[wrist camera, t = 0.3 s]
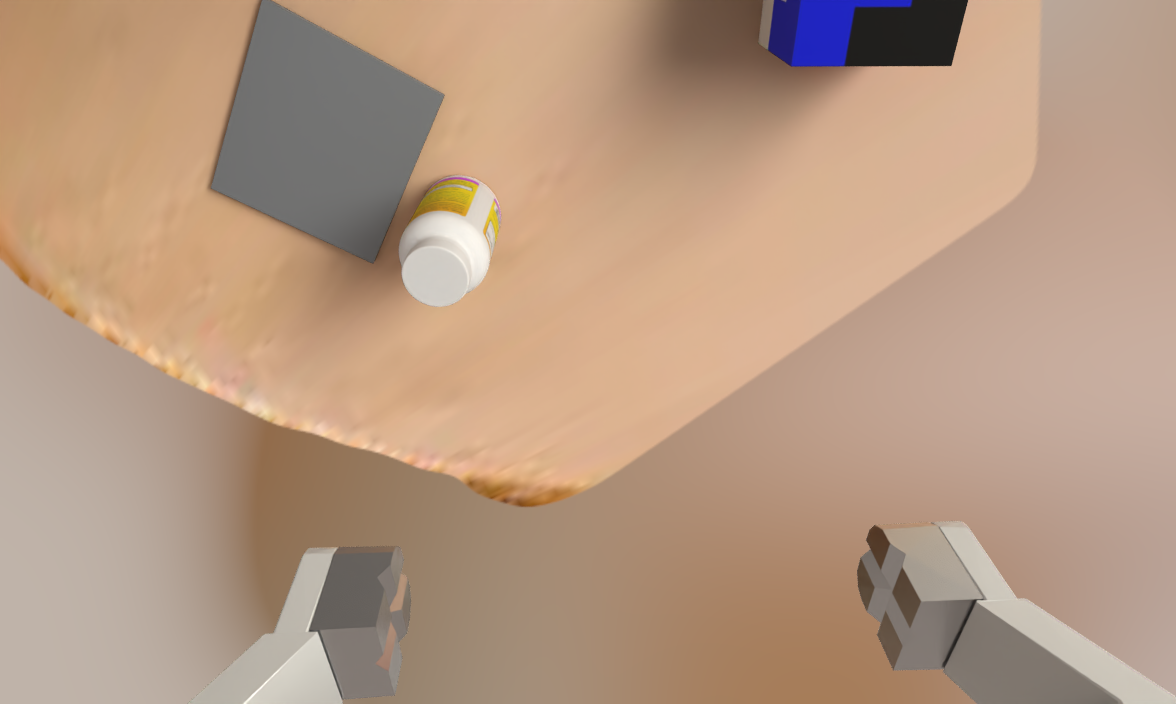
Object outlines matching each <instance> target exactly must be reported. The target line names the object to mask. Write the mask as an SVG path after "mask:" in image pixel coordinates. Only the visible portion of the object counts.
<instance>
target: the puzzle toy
mask: <svg viewBox="0 0 1176 704" xmlns="http://www.w3.org/2000/svg"><path fill="white" fill-rule="evenodd" d="M967 2H968V0H763V7H762V16H761V25H760V33H759V42H758V44H760V45H761V46H763V47H764V48H766V49H767V50H768V51H770V52H771V53H773V54H774V55H776V56H777V57H778V58H780V59H781V60H783V61H784V62H786V63H787V64H788V65H790V66H951V65H952V61H953V57H954V53H955V50H956V46H957V42H958V38H959V34H960V30H961V26H962V22H963V18H964V14H965V10H966V6H967Z"/></svg>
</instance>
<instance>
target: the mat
mask: <svg viewBox="0 0 1176 704" xmlns="http://www.w3.org/2000/svg"><path fill="white" fill-rule="evenodd" d="M444 96H445V95H444V94H442V93H440V92H438V91H437V90H435V89H433V88H431V87H429V86H427V85H426V84H424V83H422V82H420V81H418V80H416V79H415V78H413V77H411V76H409V75H407V74H405V73H404V72H402V71H400V70H398V69H396V68H394V67H393V66H391V65H389V64H387V63H385V62H383V61H382V60H380V59H378V58H376V57H374V56H372V55H371V54H369V53H367V52H365V51H363V50H361V49H360V48H358V47H356V46H354V45H352V44H350V43H349V42H347V41H345V40H343V39H341V38H339V37H337V36H336V35H334V34H332V33H330V32H328V31H326V30H325V29H323V28H321V27H319V26H317V25H315V24H314V23H312V22H310V21H308V20H306V19H304V18H303V17H301V16H299V15H297V14H295V13H293V12H292V11H290V10H288V9H286V8H284V7H282V6H281V5H279V4H277V3H275V2H273V1H271V0H262V2H261V6H260V9H259V13H258V17H257V20H256V24H255V28H254V31H253V35H252V39H251V42H250V46H249V50H248V53H247V57H246V61H245V65H244V68H243V72H242V76H241V79H240V83H239V87H238V90H237V94H236V98H235V101H234V105H233V109H232V112H231V116H230V120H229V123H228V127H227V131H226V134H225V138H224V142H223V146H222V149H221V153H220V157H219V160H218V164H217V168H216V171H215V175H214V179H213V182H212V186H211V189H214V190H216V191H218V192H220V193H222V194H224V195H226V196H229V197H231V198H233V199H235V200H237V201H239V202H241V203H244V204H246V205H248V206H250V207H252V208H254V209H257V210H259V211H261V212H263V213H265V214H267V215H269V216H272V217H274V218H276V219H278V220H280V221H282V222H284V223H287V224H289V225H291V226H293V227H295V228H297V229H300V230H302V231H304V232H306V233H308V234H310V235H312V236H315V237H317V238H319V239H321V240H323V241H325V242H327V243H330V244H332V245H334V246H336V247H338V248H340V249H343V250H345V251H347V252H349V253H351V254H353V255H355V256H358V257H360V258H362V259H364V260H366V261H368V262H370V263H374V261H375V259H376V256H377V254H378V252H379V249H380V247H381V245H382V242H383V240H384V238H385V235H386V233H387V230H388V228H389V226H390V223H391V221H392V219H393V216H394V214H395V211H396V209H397V207H398V204H399V202H400V200H401V197H402V195H403V193H404V190H405V188H406V185H407V183H408V181H409V178H410V176H411V174H412V171H413V169H414V167H415V164H416V162H417V159H418V157H419V155H420V152H421V150H422V148H423V145H424V143H425V141H426V138H427V136H428V133H429V131H430V129H431V126H432V124H433V122H434V119H435V117H436V115H437V112H438V110H439V107H440V105H441V103H442V100H443V98H444Z"/></svg>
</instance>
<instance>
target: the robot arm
mask: <svg viewBox="0 0 1176 704" xmlns="http://www.w3.org/2000/svg"><path fill="white" fill-rule="evenodd" d="M866 541H867V543H868V545H869V546H870V550H869V551H868V552H867V553H865V554H864V555H863V556H862V557H861V558H860V562H859V566H858V570H857V576H858V588H859V592H860V596H861V599H862V602H863V604H864V606H865V609H866V611H867V612H868V613H869V614H870V615H872V616H873V617H874V618H876V619H877V620H878V621H879V622H881V624H880V627H879V630H878V634H877V636H878V638H879V640H880V642H881V644H882V647H883V649H884V651H885V653H886V655H887V658H888V660H889V662H890V664H891V666H892V668H893V670H925V669H926V670H927V669H928V670H930V669H944V670H943V672H944V673H945V674H946V675H947V676H948V677H949V678H950V679H951V680H952V681H953V682H954V683H956V684H957V685H958V686H959V687H960V688H961V689H962V690H963V691H964V692H965V693H966V694H967V695H968V696H969V697H970V698H972V699H973V700H974V701H975V702H976V703H977V704H1176V696H1174V695H1173V694H1171V693H1169V692H1168V691H1166V690H1165V689H1163V688H1162V687H1160V686H1159V685H1157V684H1156V683H1154V682H1153V681H1151V680H1150V679H1148V678H1147V677H1145V676H1143V675H1142V674H1140V673H1139V672H1137V671H1136V670H1134V669H1133V668H1131V667H1130V666H1128V665H1127V664H1125V663H1124V662H1122V661H1120V660H1119V659H1117V658H1116V657H1114V656H1113V655H1111V654H1110V653H1108V652H1106V651H1105V650H1103V649H1102V648H1101V647H1099V646H1097V645H1096V644H1094V643H1093V642H1091V641H1090V640H1088V639H1087V638H1085V637H1084V636H1082V635H1080V634H1079V633H1078V632H1076V631H1075V630H1073V629H1072V628H1070V627H1068V626H1067V625H1065V624H1064V623H1062V622H1061V621H1059V620H1058V619H1056V618H1055V617H1053V616H1051V615H1050V614H1048V613H1047V612H1046V611H1044V610H1042V609H1041V608H1039V607H1038V606H1036V605H1035V604H1033V603H1032V602H1030V601H1029V600H1027V599H1017V598H1016V596H1015V595H1014V593H1013V592H1012V591H1011V589H1010V588H1009V587H1008V585H1007V583H1006V582H1005V580H1004V579H1003V577H1002V576H1001V575H1000V573H999V571H998V570H997V568H996V567H995V565H994V564H993V563H992V561H991V560H990V558H989V557H988V555H987V554H986V552H985V551H984V549H983V548H982V546H981V545H980V543H979V542H978V540H977V539H976V538H975V536H974V535H973V533H972V532H971V530H970V529H969V527H968V526H967V525H966V524H964V523H963V522H961V521H949V522H931V523H929V522H920V523H903V524H902V523H901V524H883V525H874V526H873V527H872V528H871V529H870V530H869V533H868V536H867V539H866ZM403 561H404V559H403V555H402V551H401V548H400V547H399V546H376V547H375V546H374V547H338V548H337V547H334V548H309V549H308V550H307V551H306V552H305V554H304V555H303V556H302V558H301V561H300V564H299V566H298V569H297V571H296V574H295V577H294V580H293V582H292V585H291V588H290V590H289V593H288V596H287V598H286V601H285V604H284V606H283V609H282V611H281V614H280V617H279V619H278V622H277V625H276V627H275V630H274V633H272V634H264V635H263V636H261V637H260V638H259V639H258V640H257V641H256V642H255V643H254V644H253V645H252V646H250V647H249V648H248V649H247V650H246V651H245V652H244V653H243V654H242V655H240V656H239V657H238V658H237V659H236V660H235V661H234V662H233V663H232V664H231V665H229V666H228V667H227V668H226V669H225V670H224V671H223V672H222V673H221V674H220V675H218V676H217V677H216V678H215V679H214V680H213V681H212V682H211V683H210V684H208V685H207V686H206V687H205V688H204V689H203V690H202V691H201V692H200V693H199V694H197V695H196V696H195V697H194V698H193V699H192V700H191V701H190V702H189V703H188V704H342V703H343V702H342V699H355V698H368V697H380V696H393V695H395V692H396V687H397V683H398V677H399V672H400V668H401V662H402V654H401V650H400V646H399V641H400V640H401V639H402V638H403V637H404V636H405V635H406V634H407V631H408V625H409V620H410V606H411V595H410V585H409V581H408V577H407V576H405V575H404V574H403V573H401V571H402V566H403Z"/></svg>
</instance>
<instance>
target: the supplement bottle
mask: <svg viewBox="0 0 1176 704" xmlns="http://www.w3.org/2000/svg"><path fill="white" fill-rule="evenodd" d="M500 223H501V210H500V206H499V203H498V200H497V198H496V196H495V195H494V193H493V192H492V191H491V190H490V189H489V188H488V187H487V186H486V185H485V184H484V183H482V182H481V181H479V180H477V179H475V178H472V177H469V176H463V175H453V176H448V177H445V178H443V179H441V180H439V181H437V182H436V183H434V184H433V185H432V186H431V187H430V188H429V190H428V191H427V193H426V194H425V196H424V197H423V199H422V201H421V203H420V204H419V206H418V208H417V210H416V211H415V213H414V215H413V217H412V218H411V220H410V222H409V223H408V225H407V227H406V229H405V230H404V232H403V235H402V237H401V239H400V244H399V259H400V263H401V266H402V280H403V283H404V286H405V287H406V289H407V291H408V292H409V293H410V294H411V295H412V296H413V297H414V298H415V299H416V300H418V301H420V302H421V303H424V304H426V305H429V306H435V307H444V306H449V305H451V304H454V303H456V302H457V301H459V300H460V299H461V298H462V297H463V296H464V294H466V293H468V292H470V291H472V290H473V289H475V288H476V287H477V286H478V285H479V284H480V283H481V282H482V280H483V279H484V277H485V275H486V273H487V271H488V268H489V264H490V260H491V257H492V253H493V250H494V246H495V243H496V239H497V236H498V232H499V228H500Z"/></svg>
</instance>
